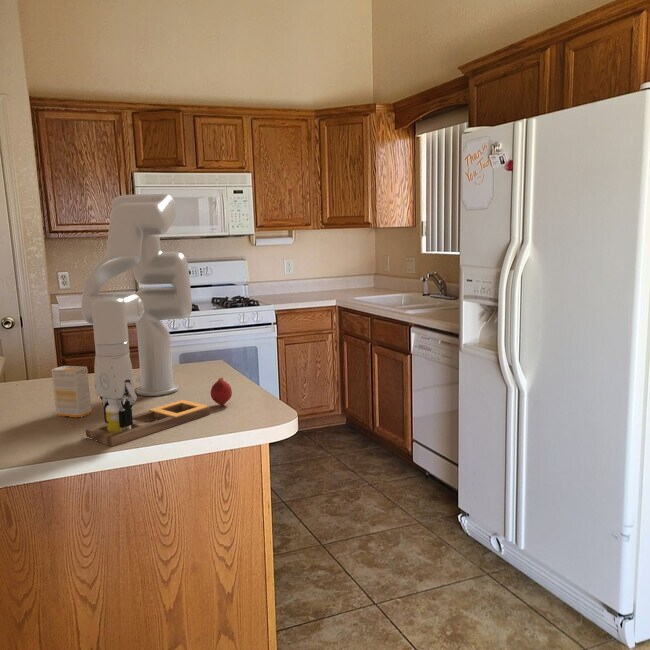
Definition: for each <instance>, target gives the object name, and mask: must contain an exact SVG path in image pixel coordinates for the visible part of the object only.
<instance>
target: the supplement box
mask: <svg viewBox="0 0 650 650" xmlns="http://www.w3.org/2000/svg"><path fill="white" fill-rule="evenodd" d="M51 378H52V385H53V386H52V387H53V395H54V404H55V413H56V415H55V416H57V415H61V416H60V417H65V416H69V418H77V417H81V418H83V416H84V417H86V416H88V415H90V414H89V413H91V414H92V402H91V392H90V382H89V372H88V367H87V366H75V365H61V366H59V367H54V368H52V369H51ZM87 414H88V415H87ZM85 415H86V416H85Z"/></svg>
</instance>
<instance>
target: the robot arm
mask: <svg viewBox="0 0 650 650" xmlns="http://www.w3.org/2000/svg"><path fill="white" fill-rule="evenodd" d="M176 216H177V204H176V202H175V199H174V198H173V197H172V196H171V195H170V194H166V193H151V194H150V193H148V194H147V193H146V194H143V193H141V194H138V193H137V194H123V195H118V196H115V198H113V199H112V201H111V212H110V216H109V223H108V224H109V225H108V234H107V236H108V237H107V245H106V253H105V255H104V256H103V258H101V259H100V260H99V261H98V262H97V263H96V264H95V265H94V266H93V267H92V269H91V270H90V271H89V273H88V274H87V276H86V277H85V280H84V283H83V290H82V295H81V297H82V298H81V315H82V319H83V320H84V321H85V322H87V323H88V324H90V325H92V329H93V337H94V338H93V339H94V347H95V355H94V356H95V357H94V367H93V368H94V369H93V370H94V371H93V372H94V373H93V375H94V391H95V394H96V395H97V396H99V398H100V400H101V406H102V408H103V416H104V417H103V418H104V424H106V423H107V420H106V407H107V406H108V405H109V403H108V399H112V400H118V404H119V408H120V411H118V412H119V424H120V427H121V428H124V427H127V426H130V425H132V424H133V420H132V416H133V409H134V405H135V403H136V401H137V399H138V396H137V395H140V396H146V397H155V396H156V397H157V396H164V395H165V396H166V395H169V394H172V393H175V392H177V391H178V390H179V388H180V386H179V384H178V383H175V382H174V376H173V375H174V374H173V373H174V372H173V360H172V359H173V358H172V348H171V345H172V344H171V335H170V334H171V333H170V331H169V330H168V328H167V327H166V325H165V324H164V323H163V322H162V321H165V320H166V321H167V320H183V319H184V320H185V319H187V318H189V317H190V315H191V314H192V309H193V308H192V307H193V306H192V302H193V301H192V293H191V279H190V268H189V264H188V259H187V258H186V257H187V256H185V255H184V254H183V253H182V252H179V251H162V248H161V238H160V237H161V236H160V235H163V234H166V233H167V232H168V231H169V229H170V228H171V226H172V225H173V224H174V222H175V219H176ZM131 269H132V272H133V277H134V279H135V281H136V282H137V283H138V284H140V285H149V286H151V285H155V286H156V285H171V286H172V287H165V288H164V287H159V288H157V287H155V288H152V287H151V288H143V289H139V290H137V291H136V292H135V293H131V292H129V293H127V292H126V293H123V292H122V293H121V292H120V293H115V292H114V293H100V291H101V290H102V288H103V286H105V284H106V283H107V282H108V281H110V280H111V279H112V278H114V277H117V276H119V275H120V274H123V273H125V272H127V271H130V270H131ZM129 324H135V327H136V335H137V348H138V358H139V362H138V363H139V372H140V373H139V374H140V376H139V377H137V378H136V382H138V383H139V386H138V387H137V388H136V391H135V377H134V372H133V371H134V370H133V366H132V365H133V364H132V361H131V360H132V359H131V357H130V355H131V354H130V353H131V352H130V342H129V341H130V340H129V328H128V325H129ZM123 395H125V397H123ZM107 398H108V399H107ZM123 400H125V403H124V404H123Z"/></svg>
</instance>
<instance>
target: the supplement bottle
mask: <svg viewBox="0 0 650 650" xmlns="http://www.w3.org/2000/svg"><path fill="white" fill-rule="evenodd" d="M123 397H126V396H125V395H123ZM107 399H108V398H107ZM125 401H126V399H125V400H123V404H124V403H125ZM108 403H109V405H108V406H107V407H106V420H107V430H108V432H110V433H113V434H116V433H119V432H123V431H126V430H129V429H131V425H130V426H127V427H124V428H121V427H120V424H119V412H118V411H120V408H119V404H118V400H112V399H108Z"/></svg>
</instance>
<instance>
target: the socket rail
mask: <svg viewBox="0 0 650 650" xmlns="http://www.w3.org/2000/svg"><path fill="white" fill-rule="evenodd" d="M210 411H211V410H210V405H206V404H202V403H197V402H195V401H190V400H189V401H188V400H185V399H181V400H177V401H175V402H174V401H173V402H171V403H168V404H164V405H161V406H160V405H159V406H156V407H153V408H150V409H148V411H144V412H140V413H137V414H134V415H133V414H132V420H133V424H132V425H131V429H129V430H126V431H123V432H119V433H116V434H113V433H110V432H108V430H107V423H103V424H100V425H95V426H94V427H93V426H92V427H90V428H86V429H85V437H86V436H87V437H89V438H92V439H95V440H97V441H96V442H98V441H100V442H99V443H101V442H102V444H104V443H105V444H104V445H107V446H110V447H116V446H118V445H121V444H124V443H127V442H130V441H134V440H137V439H140V438H141V437H142V438H143V437H145V436H148V435H152V434H154V433H157V432H161V431H163V430H167V429H170V428H173V427H175V426H178V425H181V424H184V423H188V422H191V421H193V420H196V419H199V418H204V417H205V416H208V415H209V416H210V415H211V413H210ZM154 420H155V421H154ZM150 421H152V422H150ZM147 422H149V423H147ZM89 438H88V439H89ZM92 439H91V440H92ZM95 440H94V441H95Z"/></svg>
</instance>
